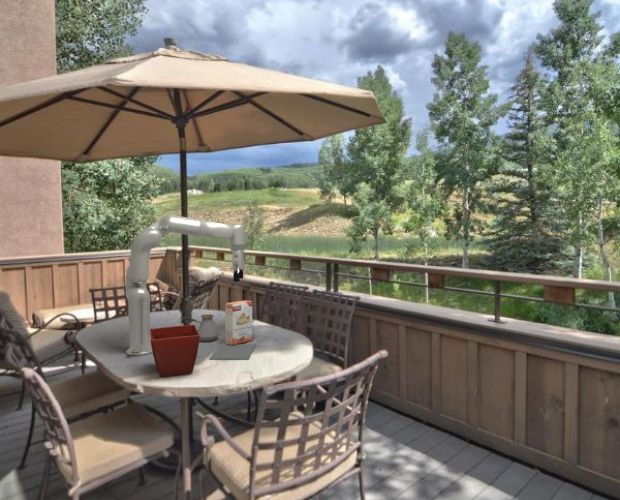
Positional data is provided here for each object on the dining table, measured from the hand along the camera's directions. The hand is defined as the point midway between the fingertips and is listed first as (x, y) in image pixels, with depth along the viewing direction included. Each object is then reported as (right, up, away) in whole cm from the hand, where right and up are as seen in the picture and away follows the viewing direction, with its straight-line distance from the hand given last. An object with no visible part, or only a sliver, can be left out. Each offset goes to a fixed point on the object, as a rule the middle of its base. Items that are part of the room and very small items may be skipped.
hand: (238, 279), depth 233 cm
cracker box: (+2, -32, -7) cm, 33 cm away
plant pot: (-19, -35, -47) cm, 62 cm away
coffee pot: (-19, -32, -5) cm, 38 cm away
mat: (+1, -33, -22) cm, 40 cm away
